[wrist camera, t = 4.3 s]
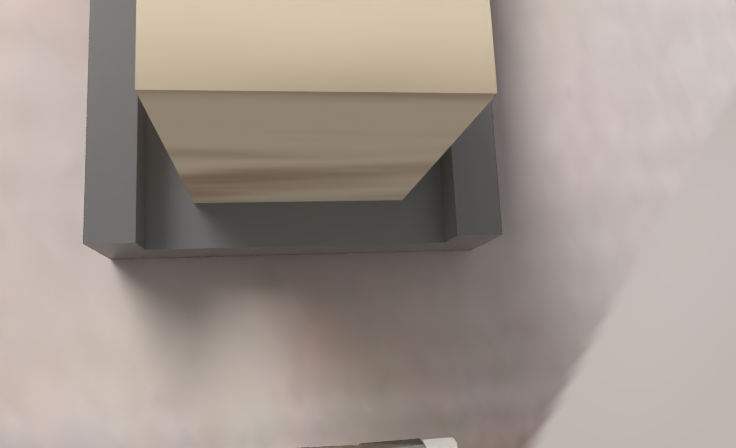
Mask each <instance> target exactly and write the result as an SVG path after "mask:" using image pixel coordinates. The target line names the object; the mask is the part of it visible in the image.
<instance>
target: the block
mask: <svg viewBox="0 0 736 448" xmlns="http://www.w3.org/2000/svg"><path fill="white" fill-rule="evenodd" d="M135 91H136V93H137V95H138V97H139V99H140V101H141V102H142V104H143V106H144V108H145V110H146V112H147V114H148V116H149V118H150V120H151V122H152V124H153V125H154V127H155V129H156V131H157V133H158V135H159V137H160V139H161V141H162V143H163V145H164V147H165V149H166V150H167V152H168V154H169V156H170V158H171V160H172V162H173V164H174V166H175V168H176V170H177V172H178V173H179V175H180V177H181V179H182V181H183V183H184V185H185V187H186V189H187V191H188V193H189V195H190V197H191V198H192V200H193V202H194V203H239V202H310V201H381V200H403V199H404V198H405V196H406V195H407V194H408V193H409V192H410V191H411V190H412V189H413V187H414V186H415V185H416V184H417V183H418V182H419V181H420V180H421V179H422V177H423V176H424V175H425V174H426V173H427V172H428V171H429V170H430V168H431V167H432V166H433V165H434V164H435V163H436V162H437V161H438V159H439V158H440V157H441V156H442V155H443V154H444V153H445V152H446V150H447V149H448V148H449V147H450V146H451V145H452V144H453V143H454V141H455V140H456V139H457V138H458V137H459V136H460V135H461V134H462V133H463V131H464V130H465V129H466V128H467V127H468V126H469V125H470V124H471V122H472V121H473V120H474V119H475V118H476V117H477V116H478V115H479V113H480V112H481V111H482V110H483V109H484V108H485V107H486V106H487V104H488V103H489V102H490V101H491V100H492V99H493V98H494V97H495V96H496V94H497V83H496V71H495V59H494V46H493V34H492V22H491V10H490V0H136V52H135Z"/></svg>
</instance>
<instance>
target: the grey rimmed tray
mask: <svg viewBox="0 0 736 448" xmlns="http://www.w3.org/2000/svg"><path fill="white" fill-rule="evenodd" d="M135 52H136V0H90V24H89V58H88V92H87V126H86V160H85V194H84V228H83V244H84V245H86V246H88V247H90V248H91V249H93V250H95V251H97V252H99V253H100V254H102V255H104V256H106V257H107V258H109V259H130V258H169V257H208V256H248V255H287V254H326V253H365V252H404V251H444V250H472V249H474V248H476V247H478V246H480V245H482V244H484V243H486V242H488V241H490V240H492V239H494V238H496V237H498V236H500V235H502V227H501V214H500V202H499V190H498V177H497V165H496V153H495V140H494V128H493V116H492V103H491V101H490V102H489V103H488V104H487V106H486V107H485V108H484V109H483V110H482V111H481V112H480V113H479V115H478V116H477V117H476V118H475V119H474V120H473V121H472V122H471V124H470V125H469V126H468V127H467V128H466V129H465V130H464V131H463V133H462V134H461V135H460V136H459V137H458V138H457V139H456V140H455V141H454V143H453V144H452V145H451V146H450V147H449V148H448V149H447V150H446V152H445V153H444V154H443V155H442V156H441V157H440V158H439V159H438V161H437V162H436V163H435V164H434V165H433V166H432V167H431V168H430V170H429V171H428V172H427V173H426V174H425V175H424V176H423V177H422V179H421V180H420V181H419V182H418V183H417V184H416V185H415V186H414V187H413V189H412V190H411V191H410V192H409V193H408V194H407V195H406V196H405V198H404V199H403V200H381V201H310V202H239V203H194V202H193V200H192V198H191V197H190V195H189V193H188V191H187V189H186V187H185V185H184V183H183V181H182V179H181V177H180V175H179V173H178V172H177V170H176V168H175V166H174V164H173V162H172V160H171V158H170V156H169V154H168V152H167V150H166V149H165V147H164V145H163V143H162V141H161V139H160V137H159V135H158V133H157V131H156V129H155V127H154V125H153V124H152V122H151V120H150V118H149V116H148V114H147V112H146V110H145V108H144V106H143V104H142V102H141V101H140V99H139V97H138V95H137V93H136V91H135Z"/></svg>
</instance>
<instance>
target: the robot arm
mask: <svg viewBox="0 0 736 448" xmlns="http://www.w3.org/2000/svg"><path fill="white" fill-rule="evenodd" d="M303 448H459V447H458V444H457V442H456V441H455V440H454V438H452V437H445V438H434V439H423V440H420V439H409V440H397V441H385V442H373V443H361V444H359V445H345V446H324V447H303Z"/></svg>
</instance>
